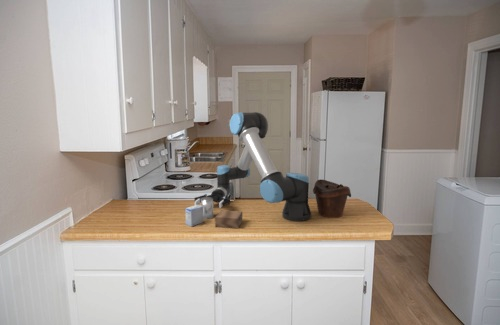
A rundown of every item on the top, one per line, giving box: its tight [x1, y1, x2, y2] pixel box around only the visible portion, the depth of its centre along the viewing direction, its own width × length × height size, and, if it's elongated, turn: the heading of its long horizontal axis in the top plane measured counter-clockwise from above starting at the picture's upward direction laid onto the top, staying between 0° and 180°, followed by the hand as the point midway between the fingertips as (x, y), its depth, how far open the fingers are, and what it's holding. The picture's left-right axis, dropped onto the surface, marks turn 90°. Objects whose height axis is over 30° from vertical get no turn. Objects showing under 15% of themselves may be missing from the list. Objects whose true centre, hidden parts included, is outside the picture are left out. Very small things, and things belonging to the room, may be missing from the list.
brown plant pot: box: [312, 179, 352, 218], centre depth 185 cm, size 18×20×18 cm
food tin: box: [200, 197, 214, 220], centre depth 181 cm, size 7×7×10 cm
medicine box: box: [184, 204, 204, 227], centre depth 171 cm, size 8×4×9 cm, turn 141°
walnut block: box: [214, 210, 243, 229], centre depth 171 cm, size 11×11×5 cm
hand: (207, 204), depth 183 cm, fingers open, 13 cm apart
